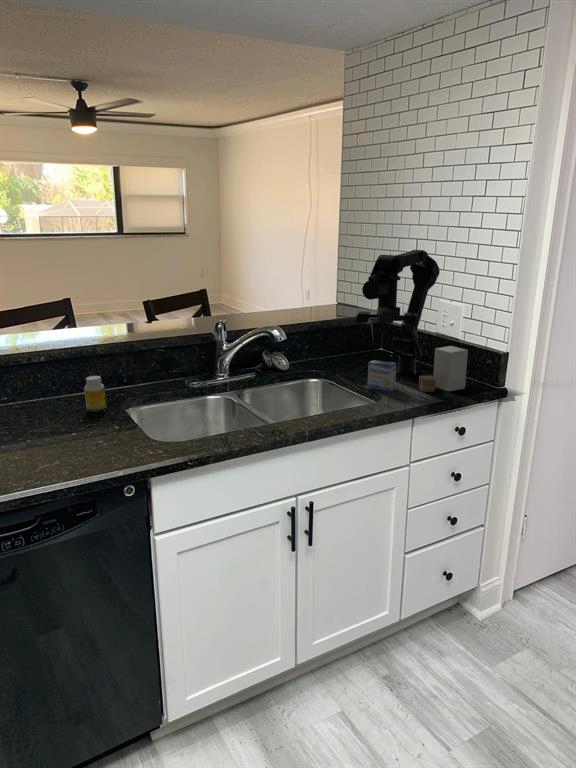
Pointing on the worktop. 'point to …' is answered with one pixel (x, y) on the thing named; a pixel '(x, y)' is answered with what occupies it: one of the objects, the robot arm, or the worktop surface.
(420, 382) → the walnut block
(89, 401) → the supplement bottle
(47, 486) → the worktop surface
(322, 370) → the worktop surface
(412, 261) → the robot arm
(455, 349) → the supplement box
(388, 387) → the medicine box
